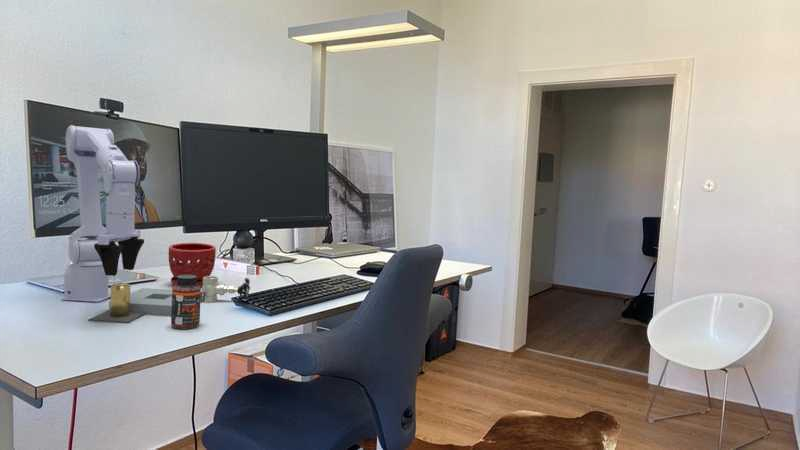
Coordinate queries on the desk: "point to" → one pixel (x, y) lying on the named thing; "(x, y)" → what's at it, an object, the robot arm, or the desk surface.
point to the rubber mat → (107, 318)
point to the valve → (220, 289)
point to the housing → (152, 301)
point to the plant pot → (191, 260)
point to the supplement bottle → (185, 302)
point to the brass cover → (120, 300)
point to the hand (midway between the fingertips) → (119, 272)
